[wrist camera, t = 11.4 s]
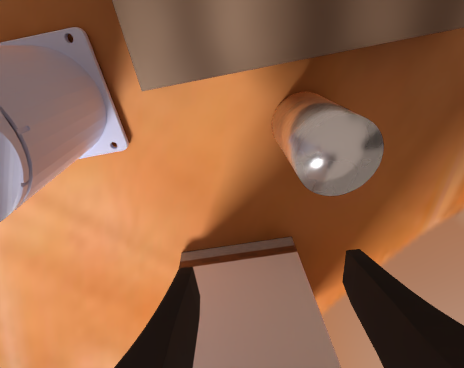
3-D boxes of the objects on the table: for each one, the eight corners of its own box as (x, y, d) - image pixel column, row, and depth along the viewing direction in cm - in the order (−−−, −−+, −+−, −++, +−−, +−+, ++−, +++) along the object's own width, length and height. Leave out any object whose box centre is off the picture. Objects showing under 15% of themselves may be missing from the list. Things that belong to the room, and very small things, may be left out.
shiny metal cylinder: (274, 155, 21) (298, 202, 15) (268, 98, 19) (293, 123, 12) (331, 145, 21) (379, 188, 14) (331, 86, 18) (388, 106, 12)
